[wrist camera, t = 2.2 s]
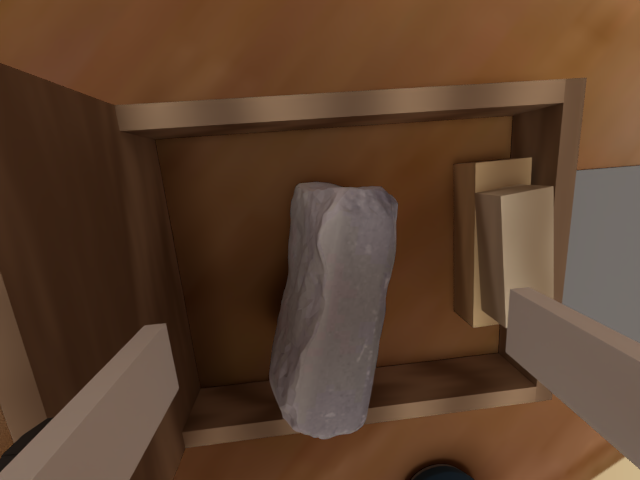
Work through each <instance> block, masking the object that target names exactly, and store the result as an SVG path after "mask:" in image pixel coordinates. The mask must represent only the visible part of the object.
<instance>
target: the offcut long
mask: <svg viewBox="0 0 640 480" xmlns="http://www.w3.org/2000/svg"><path fill="white" fill-rule="evenodd" d="M531 169H532V157H529V158H512V159H499V160H489V161H479V162H469V163H460V164H454V311H455V312H456V313H457V314H458V315H459V316H460V317H461V318H463V319H464V320H465V321H466V322H467V323H468V324H470V325H471V326H472V327H473V328H475V327H482V326H489V325H497V324H499V323H498V322H497V321H495V320H494V319H493V318H491V317H490V316H489V315H487V314H486V313H485V312H483V311H482V310H481V294H480V277H479V261H478V244H477V228H476V211H475V194H474V193H477V192H482V191H488V190H493V189H498V188H503V187H509V186H514V185H519V184H525V185H531Z"/></svg>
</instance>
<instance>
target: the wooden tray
mask: <svg viewBox="0 0 640 480" xmlns="http://www.w3.org/2000/svg"><path fill="white" fill-rule="evenodd" d="M586 79H587V78H574V79H556V80H539V81H522V82H505V83H488V84H471V85H454V86H437V87H420V88H403V89H386V90H368V91H351V92H334V93H317V94H300V95H283V96H266V97H249V98H232V99H215V100H198V101H180V102H163V103H146V104H129V105H112V104H109V103H107V102H104V101H101V100H99V99H96V98H93V97H91V96H88V95H85V94H82V93H80V92H77V91H74V90H72V89H69V88H66V87H64V86H61V85H58V84H55V83H53V82H50V81H47V80H45V79H42V78H39V77H37V76H34V75H31V74H28V73H26V72H23V71H20V70H18V69H15V68H12V67H10V66H7V65H4V64H1V63H0V406H1V408H2V411H3V414H4V417H5V420H6V423H7V425H8V428H9V431H10V434H11V437H12V439H13V442H14V443H15V442H16V441H17V440H18V439H19V438H20V437H21V436H22V435H24V434H25V433H27V432H28V431H29V430H31V429H32V428H34V427H35V426H37V425H38V424H40V423H41V422H43V421H44V420H45V419H47V418H53V417H55V416H56V415H57V414H58V413H59V412H60V411H61V410H62V409H63V408H64V407H65V406H66V405H67V404H68V403H69V402H70V401H71V400H72V399H73V398H74V397H75V396H76V395H77V394H78V393H79V392H80V391H81V390H82V389H83V388H84V387H85V385H86V384H87V383H88V382H89V381H90V380H91V379H92V378H93V377H94V376H95V375H96V374H97V373H98V372H99V371H100V370H101V369H102V368H103V367H104V366H105V365H106V364H107V363H108V362H109V361H110V360H111V359H112V358H113V357H114V356H115V355H116V354H117V353H118V352H119V351H120V350H121V349H122V348H123V347H124V346H125V345H126V344H127V343H128V342H129V341H130V340H131V339H132V338H133V337H134V336H135V335H136V333H137V332H138V331H139V330H140V329H141V328H142V327H143V326H144V325H153V324H163V323H166V326H167V331H168V336H169V341H170V346H171V351H172V356H173V361H174V366H175V370H176V375H177V380H178V385H179V389H178V391H177V393H176V395H175V397H174V398H173V400H172V402H171V404H170V406H169V408H168V410H167V411H166V413H165V415H164V417H163V419H162V421H161V423H160V424H159V426H158V428H157V430H156V432H155V434H154V436H153V437H152V439H151V441H150V443H149V445H148V447H147V448H146V450H145V452H144V454H143V456H142V458H141V460H140V461H139V463H138V465H137V467H136V469H135V471H134V473H133V474H132V476H131V478H130V480H173V478H174V476H175V473H176V471H177V468H178V466H179V463H180V460H181V458H182V455H183V453H184V450H185V448H189V447H197V446H205V445H212V444H220V443H227V442H235V441H243V440H250V439H258V438H265V437H273V436H280V435H288V434H296V433H301V432H296V431H294V430H293V429H292V427H290V425H289V424H288V422H287V421H286V420H285V419H284V418H283V416H282V413H281V410H280V408H279V405H278V403H277V401H276V398H275V396H274V393H273V391H272V388H271V385H270V380H269V381H261V382H252V383H244V384H236V385H227V386H219V387H211V388H202V389H201V388H200V383H199V377H198V372H197V366H196V361H195V355H194V350H193V345H192V339H191V334H190V328H189V323H188V317H187V312H186V306H185V301H184V296H183V290H182V285H181V279H180V274H179V268H178V263H177V257H176V252H175V247H174V241H173V236H172V230H171V225H170V219H169V214H168V208H167V203H166V198H165V192H164V187H163V181H162V176H161V170H160V165H159V159H158V154H157V149H156V143H155V139H166V138H182V137H197V136H212V135H227V134H242V133H257V132H272V131H287V130H302V129H318V128H333V127H348V126H363V125H378V124H393V123H408V122H423V121H439V120H454V119H469V118H484V117H499V116H513V125H512V141H511V157H510V159H512V158H529V157H532V169H531V185H542V186H554V300H555V301H557V302H559V303H561V304H562V299H563V290H564V281H565V271H566V262H567V253H568V244H569V235H570V226H571V217H572V207H573V198H574V189H575V180H576V171H577V162H578V152H579V143H580V134H581V125H582V116H583V107H584V98H585V88H586ZM506 338H507V328H505V327H503V326H502V325H501V324H500V334H499V350H498V353H495V354H486V355H478V356H470V357H461V358H453V359H445V360H436V361H428V362H420V363H411V364H403V365H394V366H386V367H378V368H375V373H374V379H373V385H372V391H371V397H370V402H369V407H368V412H367V418H366V421H365V422H364V424H371V423H379V422H387V421H394V420H402V419H409V418H417V417H424V416H432V415H440V414H447V413H455V412H462V411H470V410H478V409H485V408H493V407H500V406H508V405H515V404H523V403H531V402H538V401H546V400H552V392H551V391H550V390H548V389H547V388H546V387H545V386H544V385H543V384H542V383H540V382H539V381H538V380H537V379H536V378H535V377H534V376H532V375H531V374H530V373H529V372H528V371H527V370H526V369H524V368H523V367H522V366H521V365H520V364H519V363H518V362H516V361H515V360H514V359H513V358H512V357H511V356H510V355H508V354H507V353H506ZM364 424H363V425H364Z"/></svg>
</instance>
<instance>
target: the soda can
mask: <svg viewBox="0 0 640 480" xmlns="http://www.w3.org/2000/svg"><path fill="white" fill-rule="evenodd" d="M411 480H474V479H473V478H472V477H470V476H469V475H467V474H466V473H464V472H463V471H461V470H459V469H458V468H456V467H454V466H451V465H447V464H436V465H432V466H429V467H426V468H424V469H422V470H421V471H419V472H418V473H417V474H415V475H414V476H413V478H412V479H411Z"/></svg>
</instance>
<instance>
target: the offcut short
mask: <svg viewBox="0 0 640 480" xmlns="http://www.w3.org/2000/svg"><path fill="white" fill-rule="evenodd" d="M474 194H475V211H476V228H477V244H478V261H479V277H480V294H481V310H482V311H483V312H485V313H486V314H487V315H489V316H490V317H491V318H493V319H494V320H495V321H497V322H498V323H499V324H501V325H502V326H503V327H505V328H507V324H508V310H509V296H510V289H515V288H525V287H529V288H531V289H533V290H535V291H537V292H539V293H541V294H543V295H545V296H547V297H549V298H551V299H553V300H554V186H542V185H525V184H519V185H514V186H509V187H503V188H498V189H493V190H488V191H482V192H477V193H474Z"/></svg>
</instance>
